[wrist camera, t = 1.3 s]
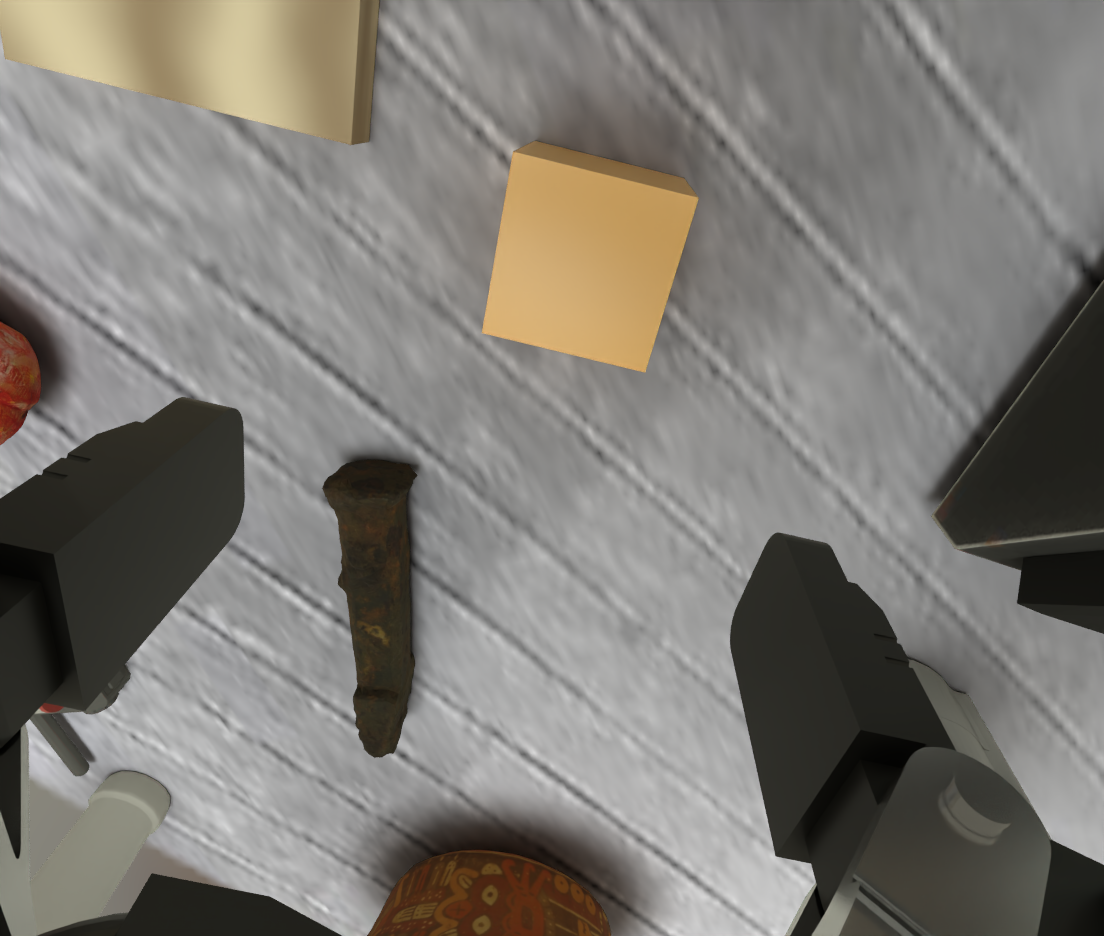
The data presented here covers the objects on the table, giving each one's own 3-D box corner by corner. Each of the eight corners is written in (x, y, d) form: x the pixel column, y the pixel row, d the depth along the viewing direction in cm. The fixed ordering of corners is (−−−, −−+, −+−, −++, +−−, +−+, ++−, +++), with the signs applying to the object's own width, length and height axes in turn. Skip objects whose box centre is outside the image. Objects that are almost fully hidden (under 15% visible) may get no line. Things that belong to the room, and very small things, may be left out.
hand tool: (344, 447, 34) (306, 495, 30) (422, 458, 34) (394, 507, 30) (358, 705, 43) (331, 767, 39) (419, 714, 43) (397, 778, 39)
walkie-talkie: (-88, 531, 40) (84, 757, 49) (-164, 578, 36) (38, 814, 45) (37, 515, 38) (190, 751, 47) (-28, 562, 34) (152, 809, 44)
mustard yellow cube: (683, 178, 26) (698, 198, 21) (641, 323, 29) (645, 372, 24) (535, 140, 26) (512, 151, 21) (507, 290, 29) (481, 332, 24)
